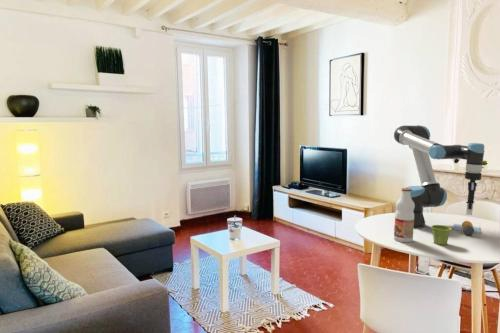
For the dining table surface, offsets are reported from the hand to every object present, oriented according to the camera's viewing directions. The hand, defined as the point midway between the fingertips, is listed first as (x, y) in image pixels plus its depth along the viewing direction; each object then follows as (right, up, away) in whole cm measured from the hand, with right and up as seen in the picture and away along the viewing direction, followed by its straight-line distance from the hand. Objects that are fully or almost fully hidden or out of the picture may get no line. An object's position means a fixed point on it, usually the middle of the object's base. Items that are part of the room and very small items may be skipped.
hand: (469, 214), depth 203 cm
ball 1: (+8, -8, +15) cm, 19 cm away
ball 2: (+3, -10, +6) cm, 11 cm away
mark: (+10, -11, +19) cm, 24 cm away
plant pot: (-20, -14, -9) cm, 26 cm away
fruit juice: (-38, -13, -4) cm, 40 cm away
